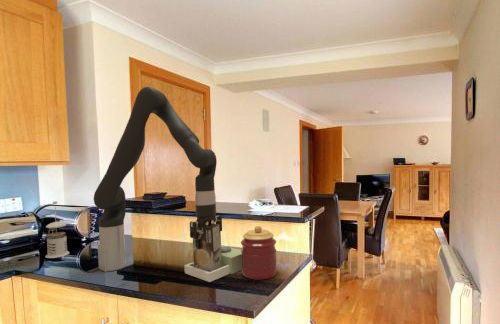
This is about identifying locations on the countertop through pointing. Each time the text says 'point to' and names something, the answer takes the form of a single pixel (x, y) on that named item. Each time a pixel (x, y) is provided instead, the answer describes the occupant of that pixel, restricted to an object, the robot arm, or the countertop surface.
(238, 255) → the dome button panel
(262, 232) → the canister
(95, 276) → the countertop surface
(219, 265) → the coffee box
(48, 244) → the french press
